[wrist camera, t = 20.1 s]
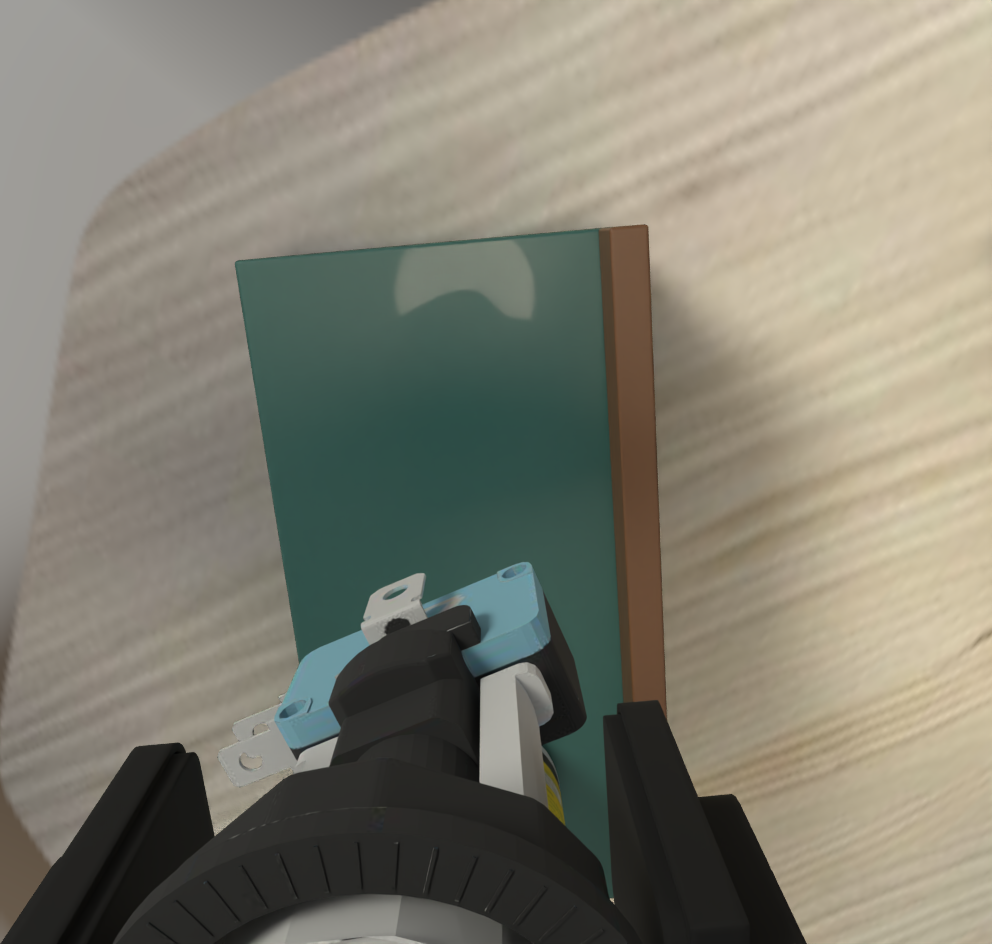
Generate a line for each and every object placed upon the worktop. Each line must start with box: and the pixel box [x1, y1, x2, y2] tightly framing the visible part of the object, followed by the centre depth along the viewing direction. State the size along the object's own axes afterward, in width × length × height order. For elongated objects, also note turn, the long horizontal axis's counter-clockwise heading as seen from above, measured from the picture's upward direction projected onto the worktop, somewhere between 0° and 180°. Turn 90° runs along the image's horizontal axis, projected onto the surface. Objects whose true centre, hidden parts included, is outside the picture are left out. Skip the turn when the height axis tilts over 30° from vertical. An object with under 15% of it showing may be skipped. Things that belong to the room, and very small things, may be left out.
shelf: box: [235, 224, 667, 898], centre depth 28 cm, size 11×22×8 cm, turn 5°
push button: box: [113, 562, 643, 944], centre depth 12 cm, size 7×5×10 cm
